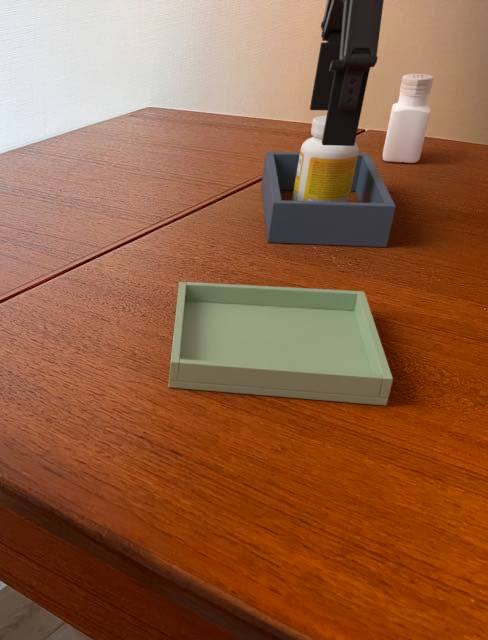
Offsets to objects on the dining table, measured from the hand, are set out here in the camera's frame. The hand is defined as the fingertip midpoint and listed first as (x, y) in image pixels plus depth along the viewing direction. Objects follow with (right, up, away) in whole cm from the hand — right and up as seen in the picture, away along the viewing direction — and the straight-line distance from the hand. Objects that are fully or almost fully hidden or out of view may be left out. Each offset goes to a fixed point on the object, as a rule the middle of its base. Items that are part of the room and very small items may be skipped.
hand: (330, 126), depth 84 cm
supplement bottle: (+1, -8, +5) cm, 9 cm away
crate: (+1, -8, +4) cm, 9 cm away
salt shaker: (+17, +2, +19) cm, 26 cm away
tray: (-13, -23, -20) cm, 33 cm away
